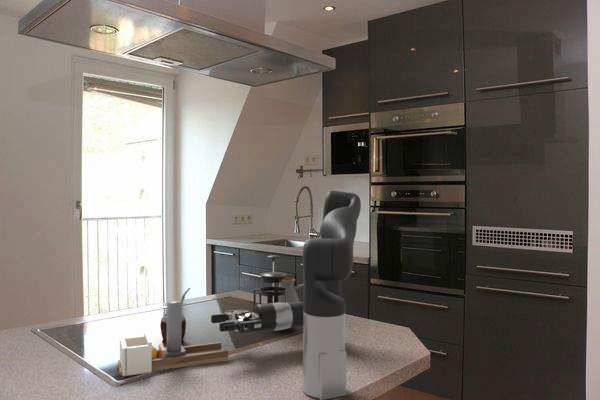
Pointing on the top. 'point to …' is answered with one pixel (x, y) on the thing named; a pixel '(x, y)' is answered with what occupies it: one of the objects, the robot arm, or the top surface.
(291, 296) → the coffee pot
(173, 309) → the grey tall cylindrical piece
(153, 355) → the ball
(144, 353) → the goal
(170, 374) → the top surface
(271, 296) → the french press
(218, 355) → the track
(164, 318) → the mate gourd
